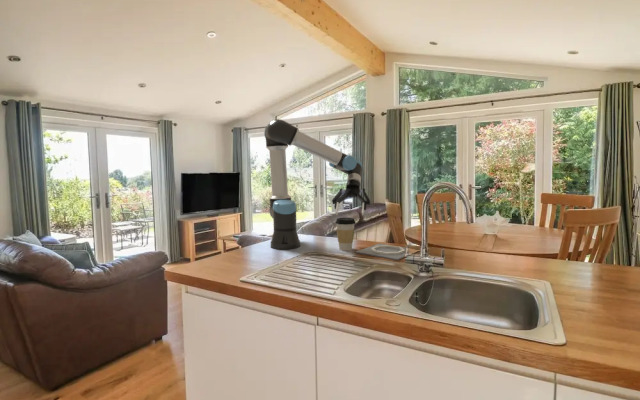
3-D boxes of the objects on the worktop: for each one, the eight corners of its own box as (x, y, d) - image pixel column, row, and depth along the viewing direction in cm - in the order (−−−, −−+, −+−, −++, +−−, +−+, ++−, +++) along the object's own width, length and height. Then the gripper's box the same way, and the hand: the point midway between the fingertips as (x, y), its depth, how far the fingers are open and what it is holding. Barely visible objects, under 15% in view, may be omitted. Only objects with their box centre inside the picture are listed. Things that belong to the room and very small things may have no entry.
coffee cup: (359, 248, 174) (359, 218, 172) (349, 252, 165) (349, 221, 164) (341, 246, 179) (341, 216, 177) (331, 249, 170) (331, 219, 169)
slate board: (355, 252, 165) (355, 249, 164) (379, 244, 181) (379, 241, 181) (397, 260, 150) (397, 257, 150) (419, 250, 167) (419, 248, 167)
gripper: (376, 187, 193) (374, 218, 180) (332, 187, 199) (327, 217, 186) (375, 178, 188) (373, 209, 175) (330, 178, 193) (324, 208, 180)
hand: (349, 213), depth 180 cm, fingers open, 13 cm apart
